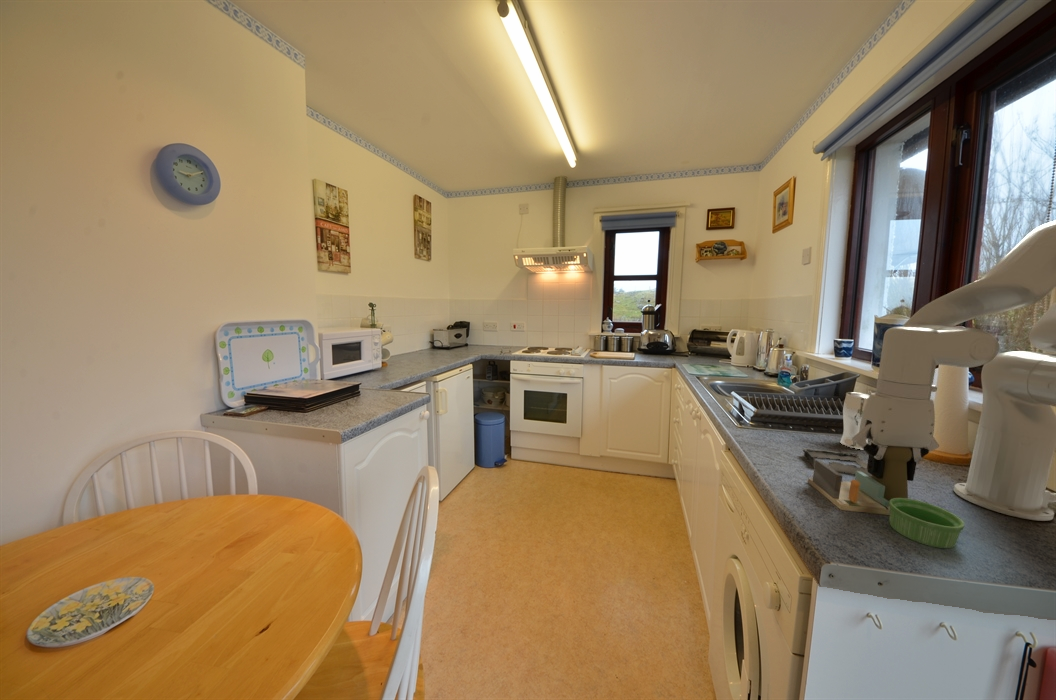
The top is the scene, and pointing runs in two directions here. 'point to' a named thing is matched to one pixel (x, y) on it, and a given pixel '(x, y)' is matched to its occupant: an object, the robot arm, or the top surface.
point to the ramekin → (925, 522)
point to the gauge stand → (843, 491)
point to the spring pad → (871, 487)
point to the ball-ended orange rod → (854, 491)
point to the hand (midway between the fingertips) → (889, 475)
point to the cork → (895, 472)
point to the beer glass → (853, 417)
